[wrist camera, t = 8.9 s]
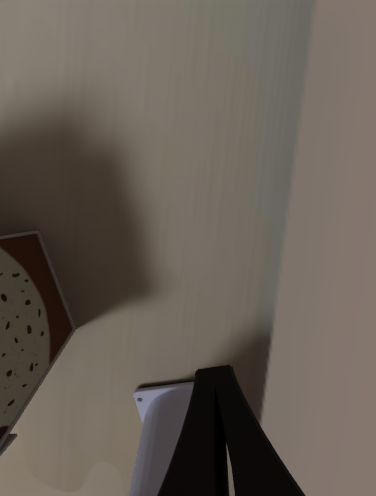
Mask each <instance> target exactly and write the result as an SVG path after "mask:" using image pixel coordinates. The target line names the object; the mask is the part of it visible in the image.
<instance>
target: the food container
mask: <svg viewBox="0 0 376 496" xmlns="http://www.w3.org/2000/svg"><path fill="white" fill-rule="evenodd" d="M75 330H76V328H75V325H74V322H73V319H72V317H71V314H70V311H69V309H68V306H67V303H66V301H65V298H64V295H63V293H62V290H61V287H60V285H59V282H58V279H57V276H56V274H55V271H54V268H53V266H52V263H51V260H50V258H49V255H48V252H47V250H46V247H45V244H44V241H43V239H42V236H41V233H40V231H39V230H34V231H28V232H22V233H16V234H9V235H3V236H0V456H1V454H2V453H3V452H4V451H5V450H6V448H7V447H8V446H9V445H10V444H11V443H12V442H13V440H14V439H15V438H16V437H17V434H9V433H10V432H11V430H12V428H13V427H14V426H15V424H16V422H17V421H18V419H19V418H20V416H21V415H22V413H23V411H24V410H25V408H26V407H27V405H28V404H29V402H30V401H31V399H32V397H33V396H34V394H35V393H36V391H37V390H38V388H39V386H40V385H41V383H42V382H43V380H44V379H45V377H46V375H47V374H48V372H49V371H50V369H51V368H52V366H53V364H54V363H55V361H56V360H57V358H58V357H59V355H60V354H61V352H62V350H63V349H64V347H65V346H66V344H67V343H68V341H69V339H70V338H71V336H72V335H73V333H74V332H75Z"/></svg>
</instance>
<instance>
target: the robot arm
mask: <svg viewBox="0 0 376 496" xmlns="http://www.w3.org/2000/svg"><path fill="white" fill-rule="evenodd" d="M134 398H135V401H136V405H137V408H138V411H139V414H140V417H141V420H142V423H143V426H142V431H141V436H140V441H139V446H138V451H137V456H136V461H135V466H134V471H133V476H132V481H131V486H130V491H129V496H229V482H228V466H227V447H228V452H229V456H230V461H231V466H232V474H233V482H234V489H235V496H305V495H304V493H303V491H302V490H301V489H300V487H299V486H298V485H297V483H296V481H295V480H294V478H293V477H292V475H291V474H290V473H289V471H288V470H287V468H286V466H285V465H284V463H283V462H282V460H281V459H280V457H279V456H278V454H277V453H276V451H275V449H274V448H273V446H272V444H271V443H270V441H269V440H268V438H267V436H266V435H265V433H264V431H263V430H262V428H261V426H260V424H259V423H258V421H257V419H256V417H255V416H254V414H253V412H252V410H251V408H250V406H249V405H248V403H247V401H246V399H245V397H244V395H243V393H242V390H241V388H240V386H239V384H238V382H237V379H236V376H235V374H234V371H233V367H232V366H230V365H225V366H218V367H211V368H204V369H198V370H197V371H196V373H195V380H194V382H187V383H179V384H171V385H163V386H155V387H147V388H139V389H136V390H135V391H134ZM226 442H227V445H226Z"/></svg>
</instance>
